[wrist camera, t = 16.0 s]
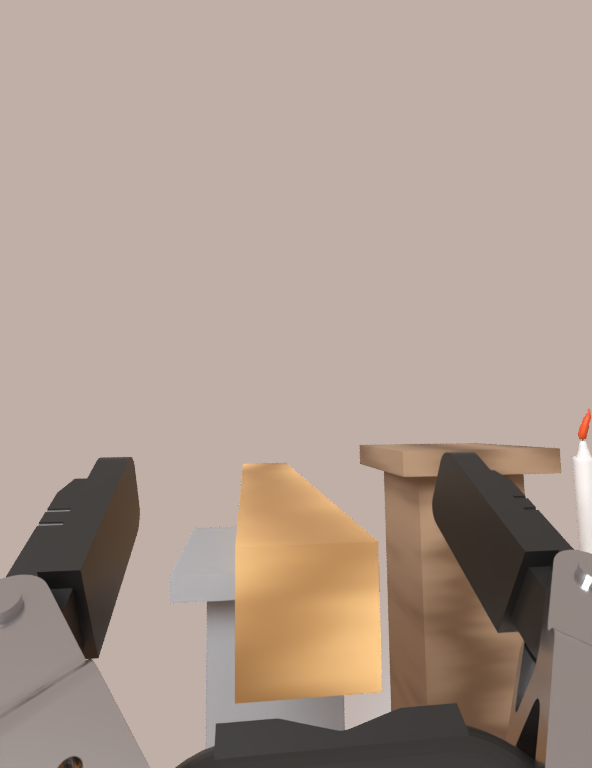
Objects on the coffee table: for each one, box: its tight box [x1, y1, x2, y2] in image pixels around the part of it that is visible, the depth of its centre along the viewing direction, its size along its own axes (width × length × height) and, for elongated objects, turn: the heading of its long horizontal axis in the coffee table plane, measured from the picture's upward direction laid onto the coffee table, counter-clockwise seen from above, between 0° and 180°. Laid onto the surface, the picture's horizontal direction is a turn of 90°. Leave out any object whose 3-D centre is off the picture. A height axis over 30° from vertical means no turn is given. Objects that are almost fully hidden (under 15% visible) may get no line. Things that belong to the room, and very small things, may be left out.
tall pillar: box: [360, 443, 561, 740], centre depth 30 cm, size 11×11×32 cm
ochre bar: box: [235, 463, 382, 704], centre depth 20 cm, size 3×22×3 cm, turn 6°
